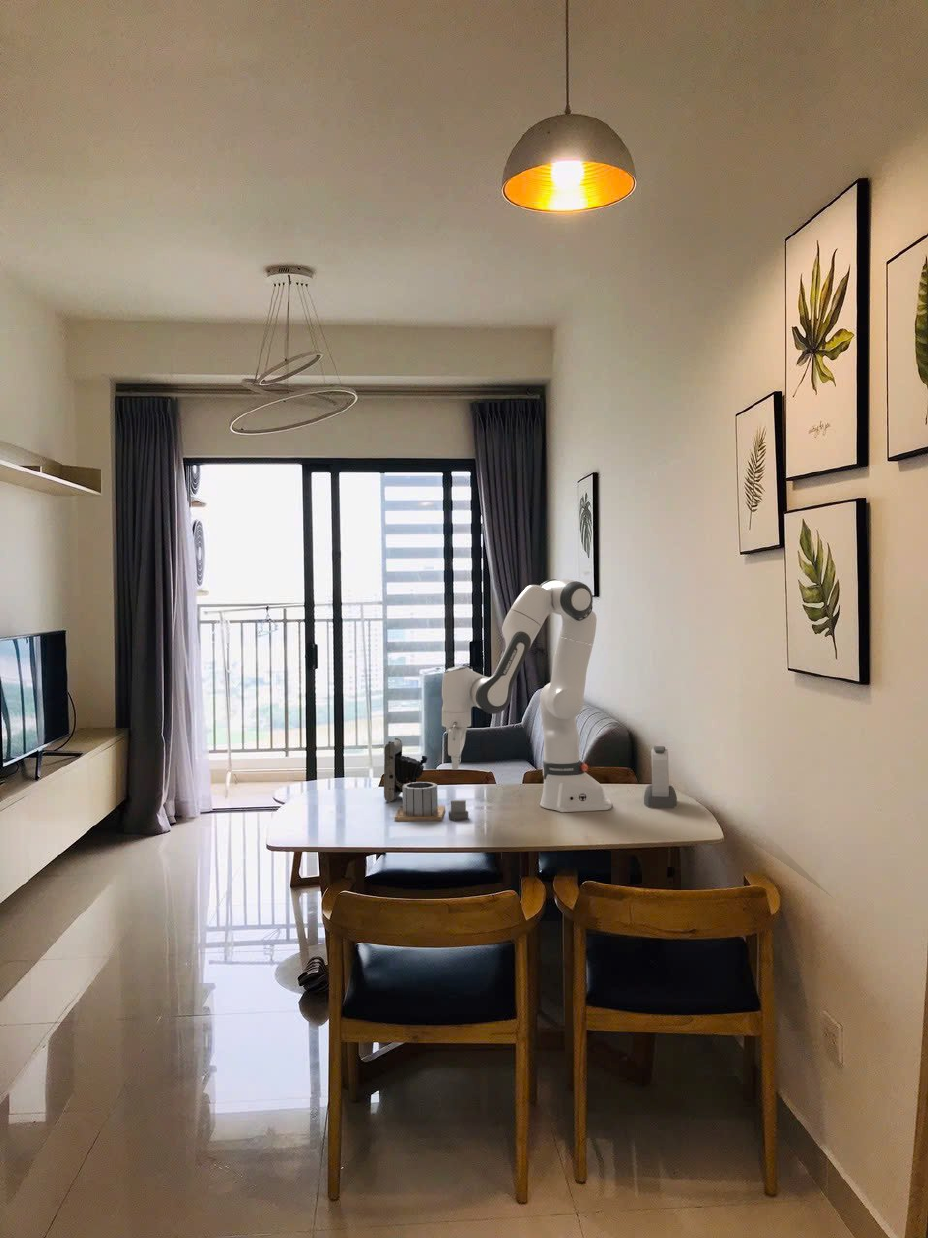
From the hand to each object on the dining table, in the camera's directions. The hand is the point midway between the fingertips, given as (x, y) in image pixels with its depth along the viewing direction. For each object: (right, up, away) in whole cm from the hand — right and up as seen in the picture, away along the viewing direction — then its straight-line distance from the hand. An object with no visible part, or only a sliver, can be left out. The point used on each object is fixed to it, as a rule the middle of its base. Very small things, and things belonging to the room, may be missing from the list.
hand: (456, 766), depth 267 cm
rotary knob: (+1, -16, 0) cm, 16 cm away
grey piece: (+65, -15, +14) cm, 68 cm away
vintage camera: (-16, -16, +28) cm, 35 cm away
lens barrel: (-11, -16, +5) cm, 20 cm away
